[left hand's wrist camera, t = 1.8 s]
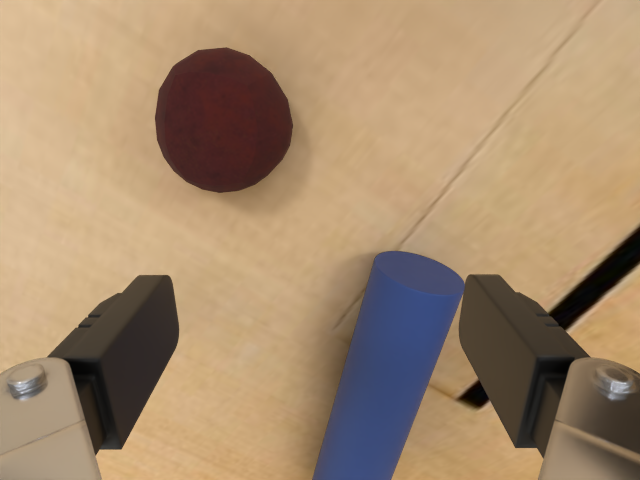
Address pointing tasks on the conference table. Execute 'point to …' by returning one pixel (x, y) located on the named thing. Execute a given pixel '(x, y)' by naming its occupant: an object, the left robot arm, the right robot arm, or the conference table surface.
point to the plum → (222, 120)
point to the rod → (388, 365)
